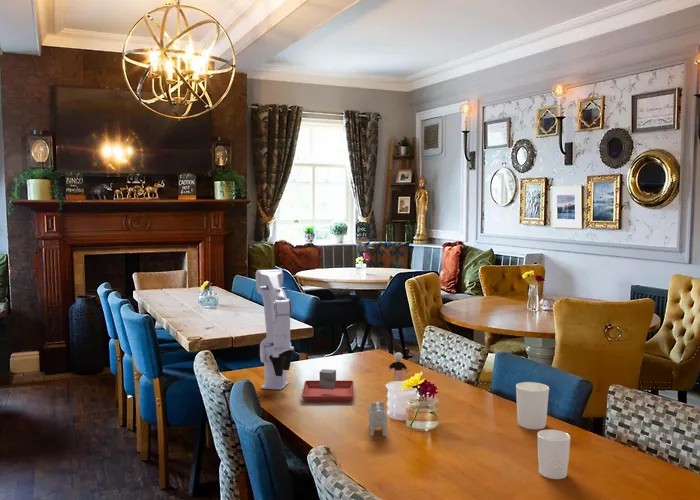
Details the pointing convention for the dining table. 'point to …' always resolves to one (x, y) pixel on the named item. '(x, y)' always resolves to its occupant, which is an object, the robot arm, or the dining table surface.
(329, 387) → the charcoal block
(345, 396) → the plant saucer
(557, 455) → the white cup
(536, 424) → the candle holder
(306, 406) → the dining table surface
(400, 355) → the grandmother figurine
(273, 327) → the robot arm
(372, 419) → the dog figurine
